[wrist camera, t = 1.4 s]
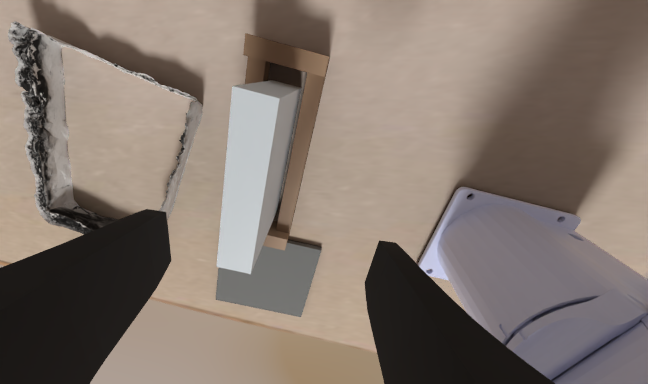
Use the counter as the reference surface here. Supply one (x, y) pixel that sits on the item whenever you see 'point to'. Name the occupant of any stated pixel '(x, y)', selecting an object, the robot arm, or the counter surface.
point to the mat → (273, 279)
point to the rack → (316, 67)
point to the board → (254, 168)
